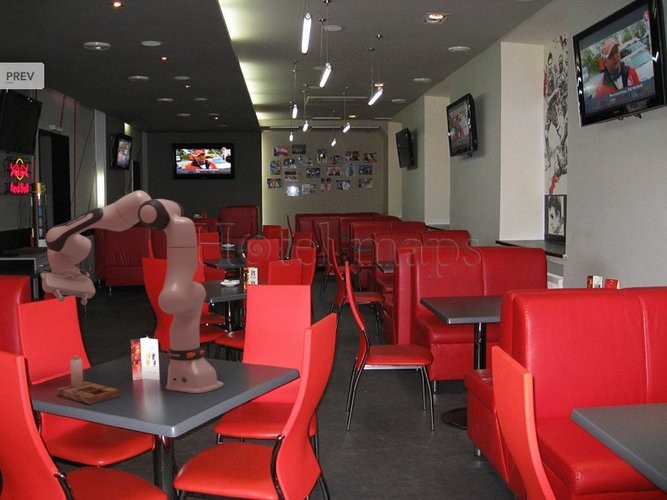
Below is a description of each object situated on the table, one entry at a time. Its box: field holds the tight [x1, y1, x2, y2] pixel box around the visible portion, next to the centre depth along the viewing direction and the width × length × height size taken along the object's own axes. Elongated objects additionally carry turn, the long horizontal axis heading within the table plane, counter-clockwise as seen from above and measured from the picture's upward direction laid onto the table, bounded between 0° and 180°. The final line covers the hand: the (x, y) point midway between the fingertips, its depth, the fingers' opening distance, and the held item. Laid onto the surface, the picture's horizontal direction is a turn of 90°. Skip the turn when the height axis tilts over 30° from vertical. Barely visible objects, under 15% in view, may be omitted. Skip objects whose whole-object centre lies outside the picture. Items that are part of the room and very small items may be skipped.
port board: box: [56, 381, 121, 406], centre depth 242 cm, size 21×12×3 cm, turn 52°
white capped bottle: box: [69, 354, 84, 388], centre depth 245 cm, size 4×4×12 cm
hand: (73, 302), depth 252 cm, fingers open, 8 cm apart
